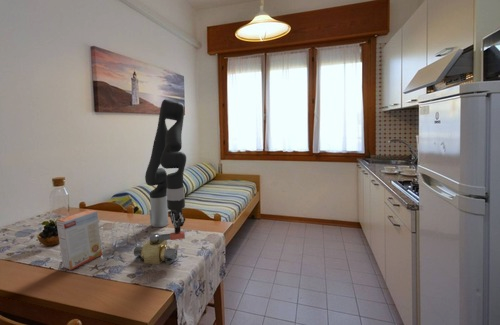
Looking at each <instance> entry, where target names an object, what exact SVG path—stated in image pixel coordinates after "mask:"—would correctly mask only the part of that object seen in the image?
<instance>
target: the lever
mask: <svg viewBox="0 0 500 325" xmlns="http://www.w3.org/2000/svg"><path fill="white" fill-rule="evenodd" d="M185 232H186V231H181V232H175V231H174V232H170V233H164V234H161V233H152V234H150V235H149V240H150V243H156V242H159V241H162V240H167V241H168V240H170V241H174V240H175V241H177V240H184V239H185V238H186V237H185V236H186V235H185Z"/></svg>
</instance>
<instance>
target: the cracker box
mask: <svg viewBox="0 0 500 325" xmlns="http://www.w3.org/2000/svg"><path fill="white" fill-rule="evenodd" d="M56 229H57V235H58V240H59V241H58V242H59V248H60V254H61V262H62V267H63V268H64V269H67V270H68V271H69V270H70V271H72V270H74V269H77V268H79V267H81V266H82V265H84V264H86V263H89V262H90V261H93V260H95V259H96V258H97V259H98V258H99V257H101V256H103V250H102V242H101V241H102V240H101V234H100V224H99V216H98V211H97V210H92V209H88V210H84V211H81V212H78V213H75V214H71V215H68V216H65V217H62V218H57V219H56Z"/></svg>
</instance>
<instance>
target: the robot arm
mask: <svg viewBox="0 0 500 325" xmlns="http://www.w3.org/2000/svg"><path fill="white" fill-rule="evenodd" d="M184 118H185V106H184V104H183V103H182V102H179V101H175V100H171V99H166V98H165V99H163V100H162V101H161V104H160V110H159V116H158V122H157V128H156V132H155V136H154V141H153V143H152V144H153V145H152V150H151V156H150V159H149V163H148V165H147V168H146V172H145V174H144V178H145V183H146V185H147V186H148V187H150V186H152V187H153V186H156V187H155V188H154V189H152V190H150V192H149V202H150V203H149V204H150V209H149V222H150V227H153V228H164V227H166V226H168V225H169V218H170V221H171V224H172V226H173V227H174V232H182V231H181V227H183V226H184V224H185V222H186V217H183V214H184V213H183V209H184V208H185V206H186V198H185V196H186V195H185V188H184V172H185V167H186V164H187V155H186V154H185V153H184V152H183V151H181V150H182V135H183V134H182V131H183V126H184ZM166 120H169V121H170V120H171V121H175V123H174V124H173V125H172V126H171V127H170V128H169V129H168V126H167V123H166ZM160 165H161V167H160ZM166 169H170V170H171V169H177V170H176V171H175V172H172V173H168V174H167V171H166ZM168 210H169V211H168Z"/></svg>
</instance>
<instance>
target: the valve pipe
mask: <svg viewBox="0 0 500 325" xmlns="http://www.w3.org/2000/svg"><path fill="white" fill-rule="evenodd" d="M167 241H168V240H162V241H159V242H156V243H150V239H148V240H147V241H146V242H145V243H143V244H142V245H136V246H135V248H134V249H133V256H134V257H135V259H134V260H135V262H142V261H143V263H144V264H150V265H151V264H153V265H160V264H162V262H165V264H167V265H172V263H174V261H176V259H177V257H178V249H177V248H175V247H174V248H172V247H170V245H168V242H167Z"/></svg>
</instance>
